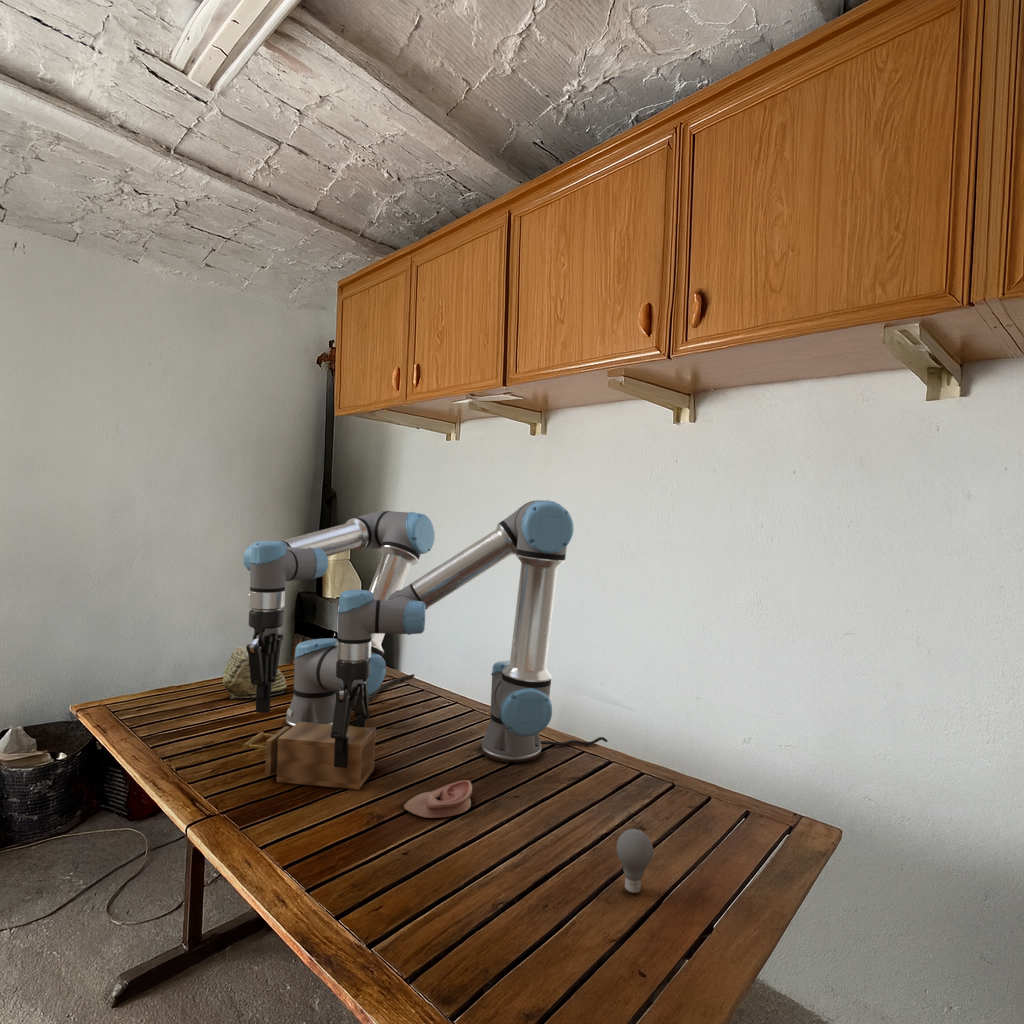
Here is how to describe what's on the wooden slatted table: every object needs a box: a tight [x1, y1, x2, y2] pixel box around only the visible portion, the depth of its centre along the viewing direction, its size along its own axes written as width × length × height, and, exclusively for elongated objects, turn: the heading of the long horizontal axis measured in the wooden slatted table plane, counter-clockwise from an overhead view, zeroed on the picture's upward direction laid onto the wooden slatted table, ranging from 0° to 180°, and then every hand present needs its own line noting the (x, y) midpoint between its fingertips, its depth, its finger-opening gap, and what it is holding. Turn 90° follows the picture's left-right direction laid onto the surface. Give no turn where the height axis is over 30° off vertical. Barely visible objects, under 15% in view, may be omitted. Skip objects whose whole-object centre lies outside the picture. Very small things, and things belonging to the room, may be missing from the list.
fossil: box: [222, 646, 288, 699], centre depth 198 cm, size 9×18×15 cm, turn 132°
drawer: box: [242, 725, 290, 776], centre depth 144 cm, size 23×9×8 cm, turn 84°
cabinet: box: [276, 722, 377, 790], centre depth 144 cm, size 19×10×10 cm, turn 84°
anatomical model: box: [403, 779, 473, 819], centre depth 132 cm, size 13×4×12 cm
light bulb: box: [615, 828, 654, 894], centre depth 106 cm, size 6×6×10 cm
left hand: (262, 711), depth 145 cm, fingers closed
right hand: (349, 756), depth 143 cm, fingers closed on cabinet, 10 cm apart
